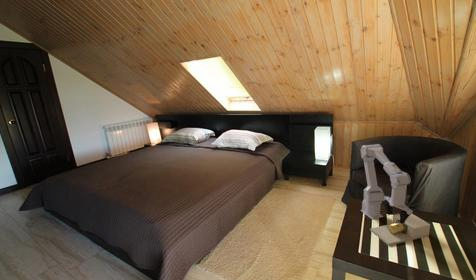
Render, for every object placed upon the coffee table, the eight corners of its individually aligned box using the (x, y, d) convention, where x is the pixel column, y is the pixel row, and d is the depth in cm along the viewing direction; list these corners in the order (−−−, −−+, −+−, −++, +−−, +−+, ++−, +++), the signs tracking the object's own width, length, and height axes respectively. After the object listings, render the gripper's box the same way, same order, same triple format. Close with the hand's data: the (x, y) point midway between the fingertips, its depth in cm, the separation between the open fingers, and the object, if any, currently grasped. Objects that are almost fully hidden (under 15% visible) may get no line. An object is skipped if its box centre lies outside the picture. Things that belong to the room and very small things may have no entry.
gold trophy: (386, 229, 118) (386, 222, 117) (408, 224, 120) (409, 217, 119) (395, 236, 113) (395, 228, 111) (417, 230, 115) (418, 223, 114)
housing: (370, 230, 120) (371, 219, 118) (407, 222, 124) (408, 211, 122) (388, 245, 109) (389, 233, 107) (428, 236, 112) (430, 224, 111)
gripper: (379, 190, 116) (377, 212, 120) (404, 204, 102) (401, 228, 106) (391, 188, 117) (388, 209, 121) (417, 201, 103) (413, 225, 107)
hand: (395, 218), depth 113 cm, fingers open, 7 cm apart
